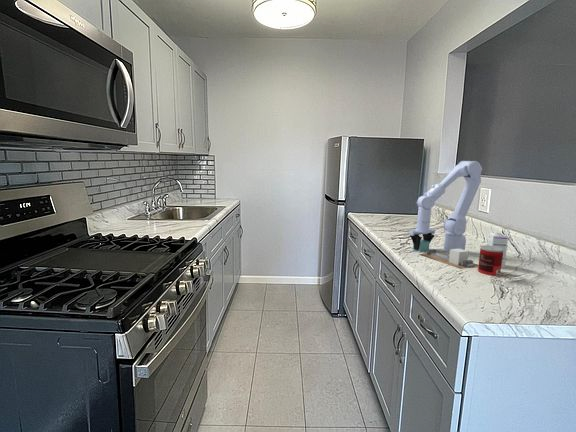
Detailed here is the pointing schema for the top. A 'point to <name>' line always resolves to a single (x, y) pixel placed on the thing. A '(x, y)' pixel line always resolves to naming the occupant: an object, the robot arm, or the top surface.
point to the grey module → (458, 256)
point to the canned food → (490, 260)
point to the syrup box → (499, 243)
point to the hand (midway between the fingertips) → (420, 249)
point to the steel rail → (433, 253)
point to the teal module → (422, 246)
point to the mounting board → (445, 261)
